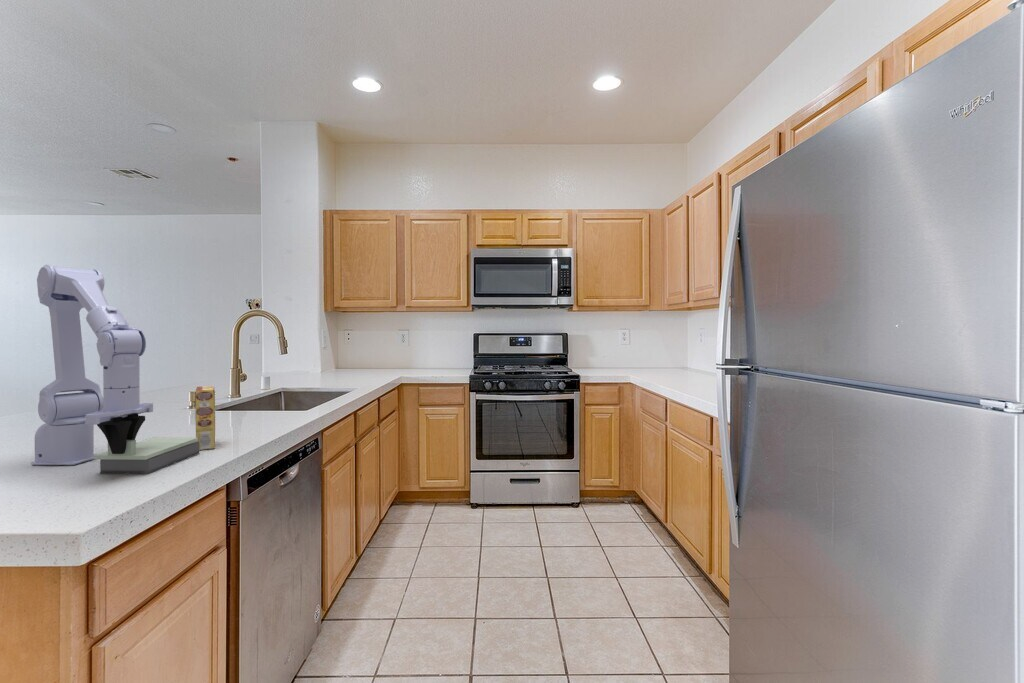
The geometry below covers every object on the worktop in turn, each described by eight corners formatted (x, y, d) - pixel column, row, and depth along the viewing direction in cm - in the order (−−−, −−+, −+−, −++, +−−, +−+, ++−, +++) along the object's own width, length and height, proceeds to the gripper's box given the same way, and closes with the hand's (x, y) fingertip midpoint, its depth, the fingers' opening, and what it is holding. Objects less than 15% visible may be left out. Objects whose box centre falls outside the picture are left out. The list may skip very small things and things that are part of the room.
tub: (100, 473, 95) (100, 459, 95) (157, 453, 111) (157, 440, 111) (148, 473, 95) (148, 459, 95) (199, 453, 111) (199, 441, 111)
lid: (93, 459, 94) (93, 441, 94) (153, 440, 110) (153, 425, 110) (145, 459, 94) (145, 441, 94) (198, 440, 111) (198, 425, 111)
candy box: (215, 449, 116) (215, 389, 116) (194, 451, 114) (195, 390, 113) (215, 441, 123) (215, 385, 123) (196, 443, 121) (196, 386, 121)
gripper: (111, 392, 87) (111, 462, 87) (167, 383, 102) (166, 444, 102) (73, 391, 87) (74, 462, 87) (134, 383, 102) (134, 443, 102)
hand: (121, 452), depth 95 cm, fingers closed on lid
